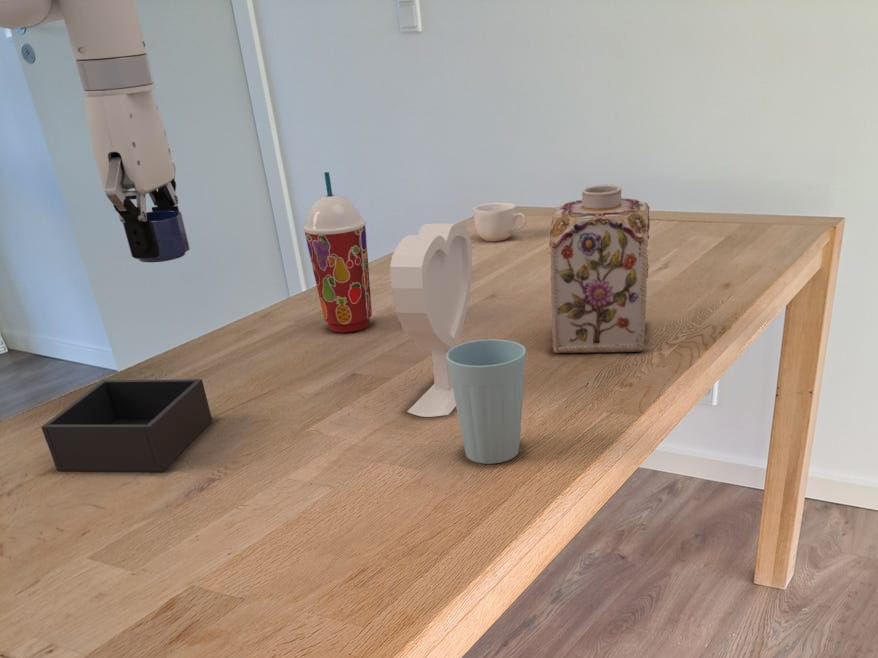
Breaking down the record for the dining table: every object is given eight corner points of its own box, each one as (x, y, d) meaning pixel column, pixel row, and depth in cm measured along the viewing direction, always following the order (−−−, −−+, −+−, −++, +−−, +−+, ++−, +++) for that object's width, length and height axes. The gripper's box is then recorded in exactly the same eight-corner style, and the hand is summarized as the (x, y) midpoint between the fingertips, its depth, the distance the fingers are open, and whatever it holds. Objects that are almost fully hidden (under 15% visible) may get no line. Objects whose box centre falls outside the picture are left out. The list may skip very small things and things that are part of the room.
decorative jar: (646, 323, 124) (651, 176, 113) (645, 353, 114) (651, 195, 104) (557, 325, 125) (554, 181, 115) (549, 354, 116) (546, 200, 106)
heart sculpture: (442, 421, 101) (425, 249, 90) (400, 418, 103) (379, 248, 92) (485, 371, 113) (475, 214, 102) (447, 369, 114) (433, 214, 104)
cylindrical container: (123, 264, 109) (112, 224, 106) (148, 250, 114) (137, 211, 112) (177, 263, 108) (167, 221, 105) (199, 248, 113) (190, 209, 111)
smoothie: (387, 318, 133) (368, 166, 122) (363, 337, 127) (341, 178, 115) (336, 316, 136) (313, 167, 124) (310, 334, 130) (283, 179, 118)
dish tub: (57, 470, 97) (40, 426, 94) (115, 421, 108) (102, 380, 105) (163, 471, 95) (150, 426, 92) (212, 421, 106) (202, 379, 103)
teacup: (467, 242, 168) (465, 210, 165) (486, 232, 173) (484, 201, 170) (517, 245, 164) (516, 212, 161) (534, 234, 169) (533, 203, 166)
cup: (536, 438, 96) (532, 338, 90) (522, 470, 90) (517, 366, 84) (465, 436, 97) (457, 338, 91) (447, 468, 92) (437, 365, 85)
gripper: (120, 71, 108) (161, 233, 118) (43, 87, 94) (97, 269, 104) (180, 67, 106) (216, 231, 117) (111, 83, 93) (159, 267, 103)
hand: (159, 248), depth 110 cm, fingers closed on cylindrical container, 6 cm apart
